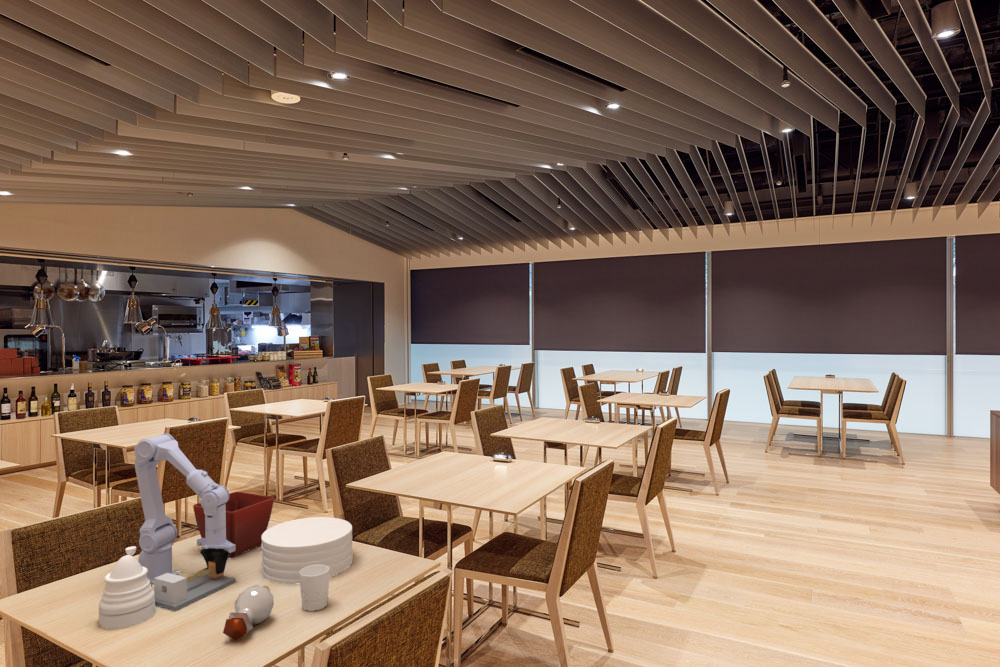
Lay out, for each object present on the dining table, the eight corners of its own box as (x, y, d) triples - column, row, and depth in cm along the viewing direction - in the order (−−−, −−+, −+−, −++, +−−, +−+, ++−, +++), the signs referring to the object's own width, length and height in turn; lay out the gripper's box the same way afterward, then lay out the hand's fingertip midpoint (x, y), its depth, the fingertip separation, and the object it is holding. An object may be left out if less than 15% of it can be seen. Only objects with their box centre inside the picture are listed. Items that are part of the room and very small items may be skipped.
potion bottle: (269, 617, 163) (242, 653, 149) (239, 597, 163) (209, 631, 148) (286, 591, 162) (261, 626, 147) (256, 571, 162) (228, 603, 147)
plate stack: (370, 560, 199) (370, 525, 199) (301, 592, 176) (301, 553, 176) (313, 544, 214) (313, 512, 214) (243, 571, 191) (242, 536, 191)
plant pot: (276, 543, 215) (275, 496, 215) (232, 562, 198) (232, 512, 198) (237, 536, 223) (236, 491, 223) (192, 554, 206) (191, 505, 205)
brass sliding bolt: (181, 589, 174) (181, 572, 174) (216, 573, 185) (216, 557, 185) (188, 591, 173) (188, 574, 173) (223, 575, 184) (223, 559, 184)
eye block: (146, 602, 170) (146, 578, 169) (207, 575, 188) (207, 553, 188) (175, 611, 164) (175, 585, 164) (235, 582, 183) (235, 559, 182)
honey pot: (120, 605, 168) (118, 542, 168) (165, 606, 168) (163, 542, 167) (87, 629, 155) (85, 560, 155) (135, 629, 155) (134, 560, 154)
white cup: (303, 600, 170) (303, 565, 170) (332, 598, 171) (331, 563, 171) (296, 613, 163) (296, 576, 162) (326, 611, 163) (326, 575, 163)
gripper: (187, 528, 183) (188, 572, 183) (221, 535, 177) (222, 581, 177) (207, 521, 189) (208, 564, 189) (240, 527, 183) (241, 572, 183)
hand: (216, 571), depth 183 cm, fingers closed on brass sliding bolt, 3 cm apart
